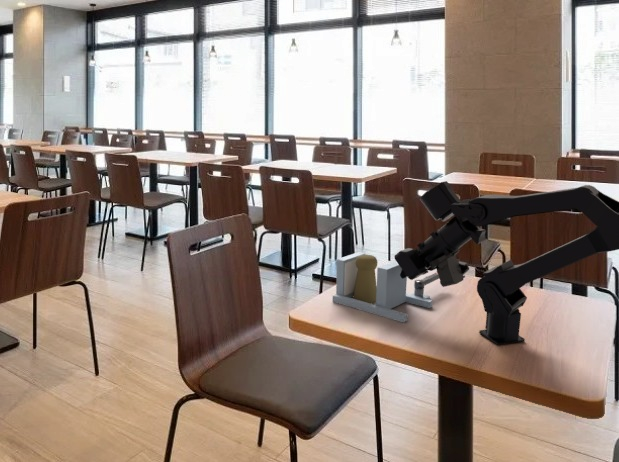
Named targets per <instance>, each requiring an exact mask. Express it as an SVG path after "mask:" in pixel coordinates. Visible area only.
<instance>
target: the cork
mask: <svg viewBox="0 0 619 462" xmlns="http://www.w3.org/2000/svg"><path fill="white" fill-rule="evenodd" d="M356 267H357V268H358V270H357V276H356V282H355V288H354V294H353V296H352V298H353V299H356V300H360V301H363V302H367V303H370V304H376V293H377V287H376V286H377V276H376V269H377V268H378V259H377V257H376V256H374V255H372V254H365V255H360V256H358V257H357V259H356Z"/></svg>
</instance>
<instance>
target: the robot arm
mask: <svg viewBox="0 0 619 462" xmlns="http://www.w3.org/2000/svg"><path fill="white" fill-rule="evenodd" d="M419 201H421V203H422V204H423V205H424V207H425V208H426V209H427V211H428V213H429V214H430V215H431V217H432V218H433V220H435V221H439V220H441V222H442V223H443V222H446V223H445V224H443V226H441V227H440V228H439V229H437V230H434V231H432V232H431V233H430V236H429V237H428V238H427V239H426V240H424V241H420V242H419V243H418V244H417V245H416V246H417V247H416V248H415V249H414V248H411V247H410V248H409V247H407V248H405V249H402V250H400V251H398V252H397V253H396V254H395V255H394V261H395V260H396V261H397V263H398V264H399V266H400V267H401V268H402V271H401V273H400V276H401V278H402V279H404V278H406V277H407V279H408V280H411V281H412V280H416V279H417V278H419V277H420V276H423V275H426V274H428V273H429V271H430V272H431V271H435V270H436V271H437V272H438V275H439V278H440V279H439V280H440V281H439V284H440V285H441V287H443V288H445V287H449V286H453V285H457V284H459V283H460V282H463V281H464V278H466V275H465V274H466V273H467V272H468V271H469V270H470V265H469V263H468V262H464V261H460V259H457V254H458V253H460V250H461V249H460V248H461V247H463V246H464V245H465V244H467V243H468V242H470V240H472V241H473V242H474V243H475V244H476V245H479V244H482V243H484V242H485V241H486V231H487V230H486V229H485V228H484V229H483V228H481V227H484V226H488V225H492V224H495V223H497V222H501V221H504V220H508V219H510V218H514V217H519V216H520V217H521V216H522V217H523V216H529V215H537V214H538V215H539V214H546V213H556V212H563V211H571V210H578V211H580V212H581V213H582V214H583V215H584V216H585V217H586V218H588V219H589V221H591V222H592V223H593V224H594V225H595V226H596V227H595V228H593V229H592V230H590V232H588V233H586V234H584V235H582V236H580V237H578V238H576V239H573V240H571V241H568V242H567V243H565V244H563V245H561V246H558V247H556V248H554V249H552V250H550V251H547V252H545V253H543V254H541V255H539V256H537V257H534V258H531V259H530V260H528V261H525V262H523V263H519V264H514V263H513V260H512V259H509V260H507V261H505V262H504V263H502V264H500V265H495V266H493V267H492V268H490V269H488V270H486V271H484V272H482V277H481V278H479V279H478V280H477V285H476V292H477V294H478V296H479V297H480V299H481V303H482V305H483V310H484V312H485V313H486V317H485V329H480V330H478V331H479V334H480V335H482V336H483V337H485V338H487V340H489V341H491V342H492V343H494V344H495V345H496V346H497V345H498V346H503V345H508V344H509V345H510V344H516V343H524V342H525V341H526V338H524V337H522V336H521V335H520V327H521V326H520V325H521V318H522V313H521V312H520V308H521V307H523V306H524V305H525V303H526V302H527V300H528V297H527V295H526V294H525V293H524V292H523V290H522V289H521V288H523V287H524V286H525V285H526V284H529V283H531V282H534V281H536V280H539V279H540V278H543V277H545V276H547V275H550V274H552V273H554V272H556V271H559V270H561V269H564V268H566V267H568V266H570V265H571V266H572V264H576V263H578V262H579V261H582V260H583V259H586V258H588V257H591V256H593V255H597V254H603V253H609V252H614V251H618V250H619V200H617V199H615V198H613V197H611V196H609V195H607V194H605V193H603V192H602V191H600V190H599V189H597V188H596V187H595V186H593V185H590V184H585V185H581V186H579V187H578V186H577V187H573V188H565V189H560V190H559V189H558V190H553V191H552V190H551V191H545V192H538V193H530V194H522V195H508V194H492V193H491V194H485V195H482V196H477V197H475V198H472V199H469V198H467V199H463V200H461V199H460V197H459V196H458V195H457V194H456V192H455V191H454V190H453V189H452V187H451V185H450V183H449V182H448V181H447V180H445V181H441V182H440V183H439V184H437V185H435V186H433V187H432V188H430V189H429V190H426V191H425V192H424V193H423V194H422V195H421V196H420V198H419ZM447 220H449V221H447Z"/></svg>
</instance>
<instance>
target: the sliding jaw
mask: <svg viewBox="0 0 619 462" xmlns="http://www.w3.org/2000/svg"><path fill="white" fill-rule="evenodd" d="M376 269H377V272H376V273H377V274H376V286H377V293H376V302H375V305H377V306H381V307H384V308H388V309H391V310H393V308H396V307H398V306H401V304H404V303H407V302H406V294H407V283H408V277H406V278H404V279H402V278H401V276H400V273H401V271H402V268H401V267H400V266H399V264H398V263H397V261H396V260H395V259H394V260H393V261H391V262H388V263H385V264H382V265H380V266H377V267H376Z"/></svg>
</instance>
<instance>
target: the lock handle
mask: <svg viewBox="0 0 619 462" xmlns="http://www.w3.org/2000/svg"><path fill="white" fill-rule="evenodd" d="M438 279H439V280H440V278H439V275H438V272H437V270H436V272H434V273H432V274H431V275H427V276H426V277H423V278H422V279H414V284H413V286H414V289H415V288H417V289H423V288H424V289H425V286H426V285H428V284H429V285H430V284H431V283H433V282H435V281H437V280H438Z"/></svg>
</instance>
